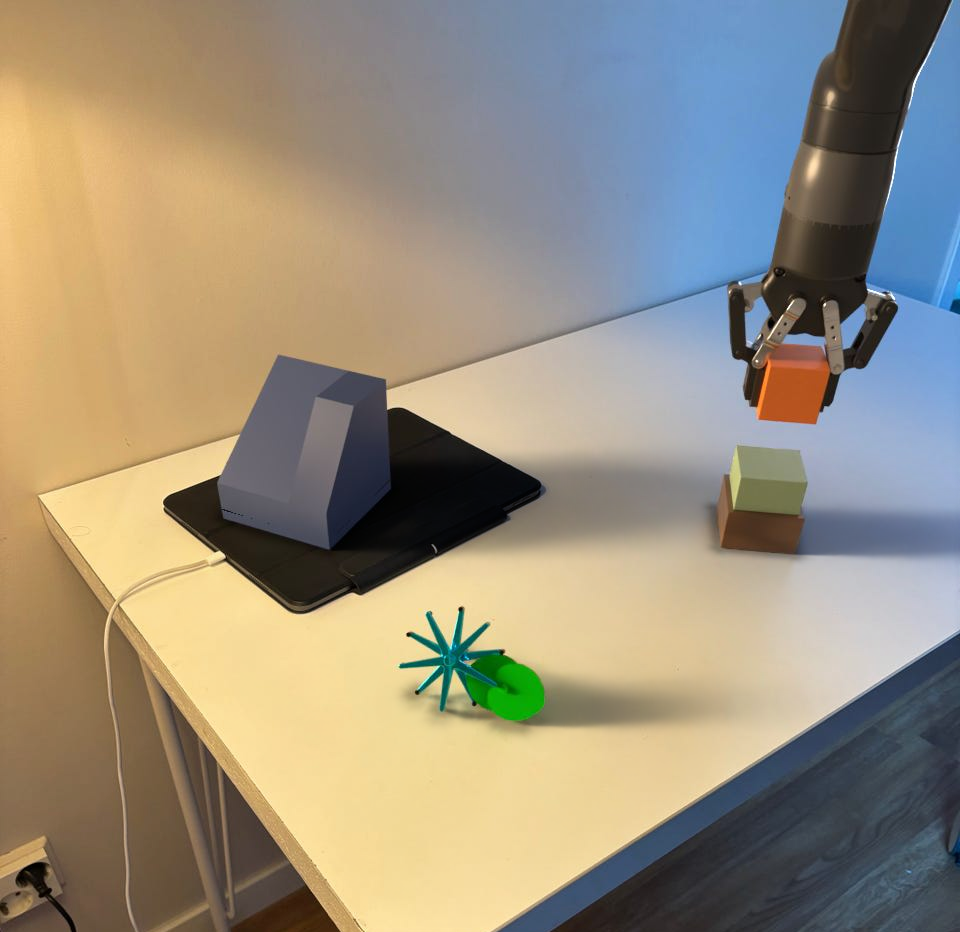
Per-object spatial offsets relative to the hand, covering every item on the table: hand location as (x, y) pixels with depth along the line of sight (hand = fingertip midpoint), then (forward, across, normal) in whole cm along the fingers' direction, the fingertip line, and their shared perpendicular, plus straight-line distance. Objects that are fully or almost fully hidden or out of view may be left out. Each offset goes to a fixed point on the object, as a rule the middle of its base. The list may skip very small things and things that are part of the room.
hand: (785, 405), depth 87 cm
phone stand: (+14, -44, -2) cm, 46 cm away
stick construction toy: (+14, -24, -26) cm, 38 cm away
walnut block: (+13, 0, 0) cm, 13 cm away
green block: (+9, 0, 0) cm, 9 cm away
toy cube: (0, 0, 0) cm, 0 cm away
